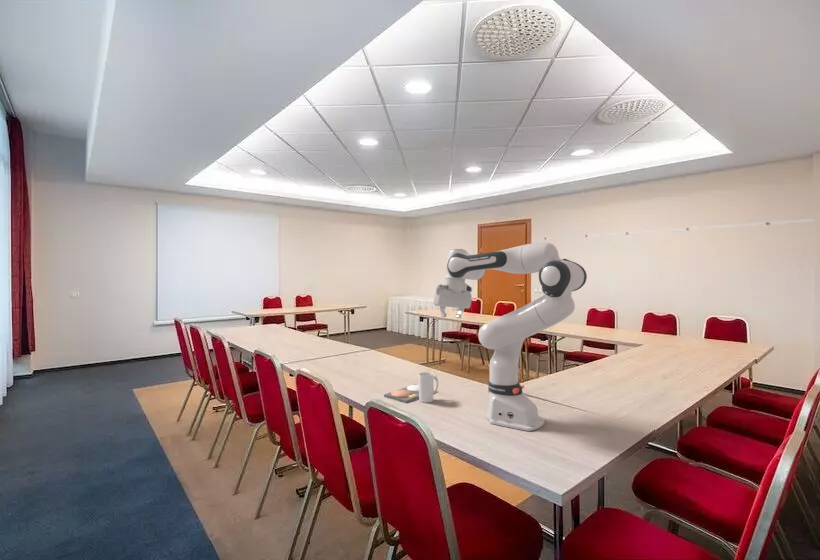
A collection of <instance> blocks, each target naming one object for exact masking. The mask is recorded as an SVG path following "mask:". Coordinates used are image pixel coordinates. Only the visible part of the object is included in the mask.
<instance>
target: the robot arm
mask: <svg viewBox="0 0 820 560" xmlns="http://www.w3.org/2000/svg"><path fill="white" fill-rule="evenodd" d="M446 258H447V259H446V264H445V266H446V267H445V271H446V272H445V273H446V274H445V277H444V284H438V286H436V289H435V290H436V291H435V293H434V296H433V297H434V298H433V304H434V306H435V307H436V306H437V307H439V310H440V314H441V315H440V317H441V318H447V312H446V307H447V308H457V310H458V312H457V313H456V315H455V317H456V319H462V315H463V313H464V311H465V309H470V308H471V306H472V293H471V292H473V287H472V286H470V285H468V283H466V280H471V281H477V280H478V281H479V280H480V279H482V278H483V277H484V276H485V274H486V270H494V271H501V272H505V273H510V274H513V275H528V274H536V273H538V280H539V284H540V286H541V290H542V292H543V294H544V295H542V296H540V297H539V298H536V299H534V300H533V301H531V302H529V303H527V304H524V305H523V306H521V307H520V308H517V309H515V310H512V311H511V312H508V313H506V314H503V315H501V316H499V317H497V318H495V319H492V320H490V321H489V322H486V323H485V324H483V325H482V326H480V328H479V330H478V334H477V337H478V341H479V343H480V344H481V345H482V346H483V347H484V348H485V349H488V350H493V354H492V357H491V358H490V360H489V370H488V371H489V380H488V394H489V395H488V404H487V409H486V411H485V418H486V419H487V420H488V422H489V423H490V424H491V425H495V426H501V427H505V428H511V429H517V430H521V431H524V432H525V431H526V432H531V431H535V430H538V429H540V428H542V427H543V426H544V425H545V421H546V420H545V418H544V417H542V416H540V415H539V409H538V406H537V405H536V404H535V403H534V402H533V401H532V400H531V399H530V398H529V397H528V396H527V395H525V394H524V393H523V389H525V385H521V384H520V382H519V360H520V355H521V351H522V347H523V345H524V344H523V343H524V341H525V339H527V338H529V337H531V336H535V335H536V334H539V333H541V332H543V331H545V330H547V329H549V328H551V327H554V326H555V325H557V324H559V323H561V322H562V321H564V320H565V319H567V318H569V316H571V315H572V314H573V313H574V311H575V308H576V307H575V300H574V299H573V297H572V293H573V292H576V291H578V290H580V289H581V288H582V287H584V285H585V284H586V283H587V277H588V275H587V271H586V269H585V268H584V267H583V266H582V265H580V264H579V263H578V262H576V261H575V262H574V261H573V260H569V259H567V258H561V257H560V255H559V251H558V249H557V247H556V246H555V245H554V244H552V243H550V242H536V243H528V244H522V245H519V246H514V247H510V248H506V249H505V248H504V249H500V250H498V251H497V250H496V251H490V252H484V253H477V254H470V253H469V252H468V251H467V250H466V249H463V248H455V249H451V250H450V251H449V252H448V255H447V257H446Z"/></svg>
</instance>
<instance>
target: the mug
mask: <svg viewBox="0 0 820 560" xmlns="http://www.w3.org/2000/svg"><path fill="white" fill-rule="evenodd" d="M417 375H418V376H417V377H418V385H419V399H418V400H419V403H426V404H428V403H431V402H433V401H434V394H435V393H437V392H438V387H439V379H438V376H437V374H434V372H428V371H427V372H425V371H423V372H419V373H418V374H417ZM434 381H435V387H434ZM433 389H434V390H433Z"/></svg>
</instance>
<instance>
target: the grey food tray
mask: <svg viewBox="0 0 820 560" xmlns="http://www.w3.org/2000/svg"><path fill="white" fill-rule="evenodd" d="M434 389H435V388H433V390H434ZM383 397H385V398H388V399H390V400H395V401H398V402H401V403H405V404H408V403H411V402H412V401H413V402H414V401H415V400H419V384H417V383H415V384H410V385H408V386H406V387H403V388H400V389H396V390H393V391H391V392H388V393H385V394H384V393H383Z"/></svg>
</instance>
